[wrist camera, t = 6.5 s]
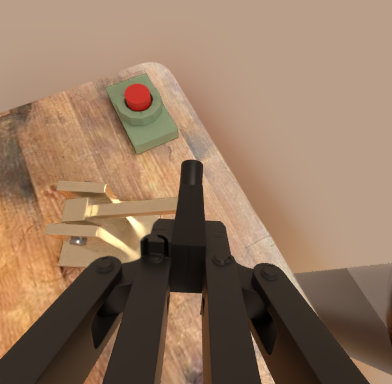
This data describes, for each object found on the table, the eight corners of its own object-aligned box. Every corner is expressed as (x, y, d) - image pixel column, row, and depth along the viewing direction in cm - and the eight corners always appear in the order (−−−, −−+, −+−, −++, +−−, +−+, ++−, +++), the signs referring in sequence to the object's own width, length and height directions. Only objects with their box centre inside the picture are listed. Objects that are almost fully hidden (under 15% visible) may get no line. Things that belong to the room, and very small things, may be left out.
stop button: (155, 106, 38) (153, 98, 36) (132, 115, 37) (130, 107, 35) (145, 88, 39) (143, 80, 37) (123, 97, 38) (120, 88, 36)
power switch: (161, 205, 36) (150, 165, 24) (155, 271, 33) (138, 263, 21) (76, 200, 36) (22, 158, 24) (62, 266, 33) (-9, 256, 21)
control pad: (178, 137, 40) (177, 122, 36) (137, 154, 39) (132, 140, 35) (147, 83, 43) (144, 64, 40) (109, 97, 42) (101, 78, 38)
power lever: (207, 169, 22) (196, 156, 20) (204, 251, 19) (191, 246, 17) (89, 184, 27) (71, 176, 25) (75, 252, 24) (54, 248, 22)
